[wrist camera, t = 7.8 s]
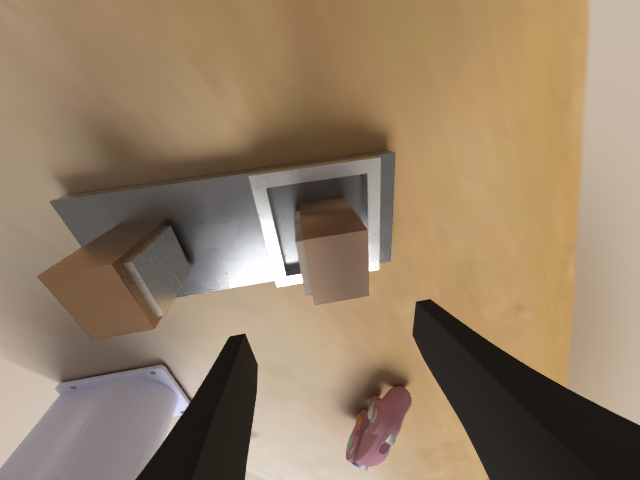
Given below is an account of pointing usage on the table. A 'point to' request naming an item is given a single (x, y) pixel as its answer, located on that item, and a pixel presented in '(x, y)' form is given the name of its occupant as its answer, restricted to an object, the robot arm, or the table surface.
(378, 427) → the video game controller
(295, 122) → the table surface
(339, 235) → the wooden block
